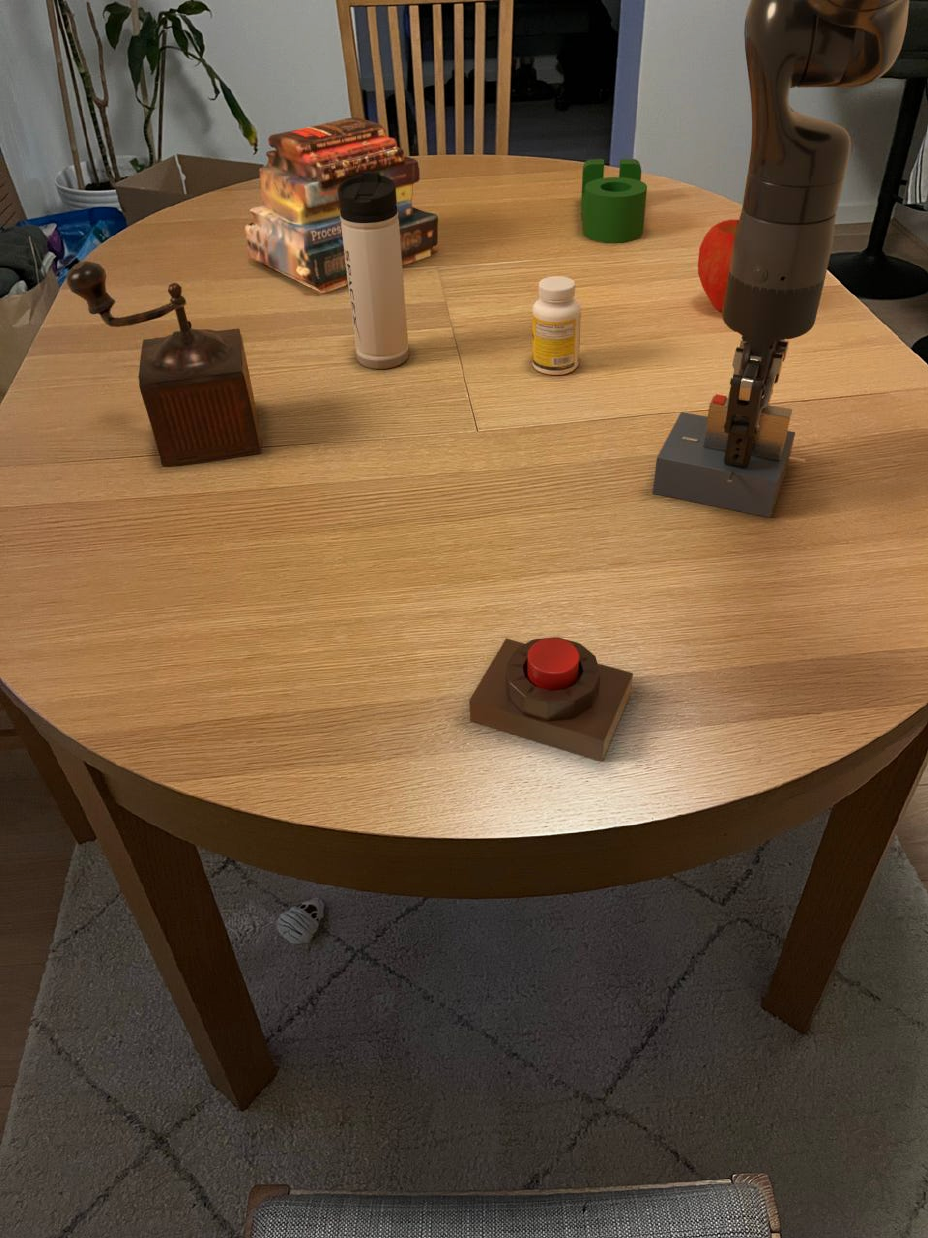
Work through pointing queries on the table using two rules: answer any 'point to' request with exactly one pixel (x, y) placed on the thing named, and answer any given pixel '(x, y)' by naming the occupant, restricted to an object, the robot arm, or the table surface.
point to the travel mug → (374, 269)
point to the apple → (716, 261)
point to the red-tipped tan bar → (766, 438)
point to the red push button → (553, 664)
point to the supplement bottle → (556, 327)
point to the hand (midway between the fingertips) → (742, 448)
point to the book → (329, 200)
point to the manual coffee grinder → (185, 379)
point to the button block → (552, 702)
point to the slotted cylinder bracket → (613, 202)
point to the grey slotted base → (717, 471)
